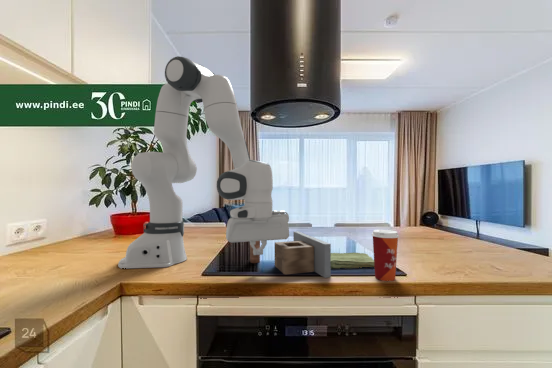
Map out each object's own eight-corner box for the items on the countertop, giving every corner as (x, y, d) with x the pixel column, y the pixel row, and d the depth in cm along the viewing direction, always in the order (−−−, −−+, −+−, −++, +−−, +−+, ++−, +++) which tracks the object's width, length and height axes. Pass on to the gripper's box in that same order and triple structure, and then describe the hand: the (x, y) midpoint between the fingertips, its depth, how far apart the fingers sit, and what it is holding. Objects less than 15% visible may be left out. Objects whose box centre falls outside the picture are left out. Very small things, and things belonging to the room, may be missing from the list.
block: (284, 274, 90) (284, 248, 90) (274, 265, 99) (274, 242, 99) (313, 271, 93) (314, 246, 93) (301, 263, 102) (301, 240, 102)
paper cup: (394, 284, 81) (395, 234, 81) (367, 278, 86) (367, 231, 86) (402, 277, 87) (402, 230, 87) (376, 272, 92) (376, 228, 92)
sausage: (251, 263, 102) (251, 229, 102) (248, 260, 105) (249, 227, 105) (260, 262, 103) (261, 228, 103) (258, 260, 107) (258, 227, 107)
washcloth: (380, 269, 97) (380, 259, 97) (328, 270, 96) (328, 260, 96) (366, 259, 110) (366, 250, 110) (319, 260, 109) (319, 251, 109)
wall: (324, 277, 87) (324, 244, 87) (293, 258, 109) (293, 231, 109) (330, 277, 87) (330, 243, 87) (298, 257, 110) (298, 231, 110)
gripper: (285, 209, 99) (284, 250, 99) (225, 210, 92) (224, 254, 92) (292, 211, 93) (292, 254, 93) (228, 213, 86) (228, 259, 86)
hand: (258, 254), depth 93 cm, fingers closed
